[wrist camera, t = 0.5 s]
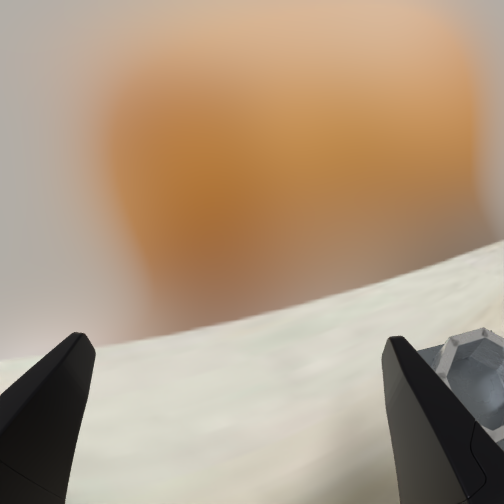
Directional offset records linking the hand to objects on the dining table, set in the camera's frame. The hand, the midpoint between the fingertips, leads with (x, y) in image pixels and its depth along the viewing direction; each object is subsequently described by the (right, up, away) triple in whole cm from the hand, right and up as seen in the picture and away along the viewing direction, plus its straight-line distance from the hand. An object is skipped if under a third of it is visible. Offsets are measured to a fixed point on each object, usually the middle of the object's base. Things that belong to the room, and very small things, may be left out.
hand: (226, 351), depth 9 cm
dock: (+19, -10, +12) cm, 25 cm away
